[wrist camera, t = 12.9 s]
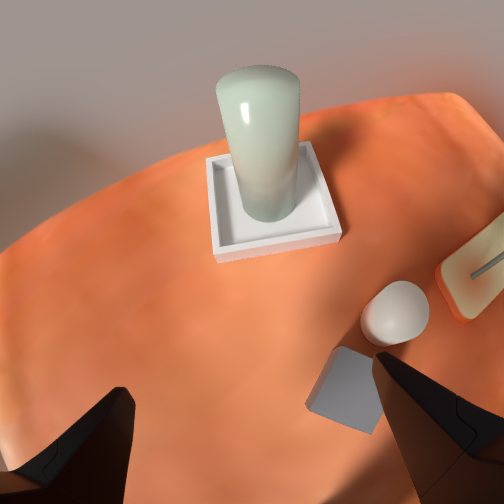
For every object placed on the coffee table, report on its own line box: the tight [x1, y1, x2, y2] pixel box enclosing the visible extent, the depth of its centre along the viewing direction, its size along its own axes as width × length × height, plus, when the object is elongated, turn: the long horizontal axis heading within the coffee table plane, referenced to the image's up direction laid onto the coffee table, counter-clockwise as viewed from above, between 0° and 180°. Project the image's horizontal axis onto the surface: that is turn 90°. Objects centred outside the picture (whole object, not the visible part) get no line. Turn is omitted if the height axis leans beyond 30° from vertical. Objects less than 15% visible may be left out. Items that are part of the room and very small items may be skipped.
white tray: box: [206, 141, 342, 263], centre depth 27 cm, size 11×11×2 cm
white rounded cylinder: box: [360, 281, 429, 347], centre depth 20 cm, size 4×4×4 cm
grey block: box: [305, 346, 383, 435], centre depth 18 cm, size 5×5×4 cm
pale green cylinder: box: [216, 65, 300, 223], centre depth 21 cm, size 5×5×13 cm
